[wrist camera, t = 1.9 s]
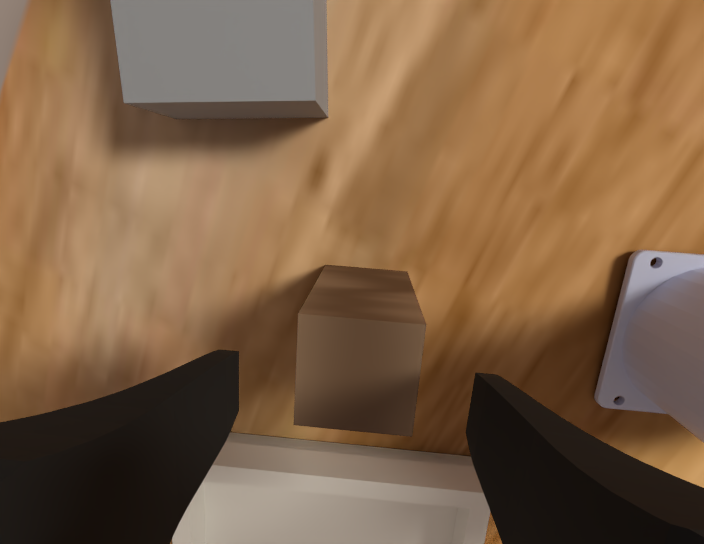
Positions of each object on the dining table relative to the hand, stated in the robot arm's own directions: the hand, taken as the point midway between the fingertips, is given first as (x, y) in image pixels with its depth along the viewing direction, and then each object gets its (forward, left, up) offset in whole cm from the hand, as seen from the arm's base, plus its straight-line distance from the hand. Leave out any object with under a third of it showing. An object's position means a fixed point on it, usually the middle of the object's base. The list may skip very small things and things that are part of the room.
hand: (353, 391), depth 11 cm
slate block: (+6, -12, -8) cm, 16 cm away
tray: (+1, +15, -8) cm, 17 cm away
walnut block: (0, 0, -8) cm, 8 cm away
